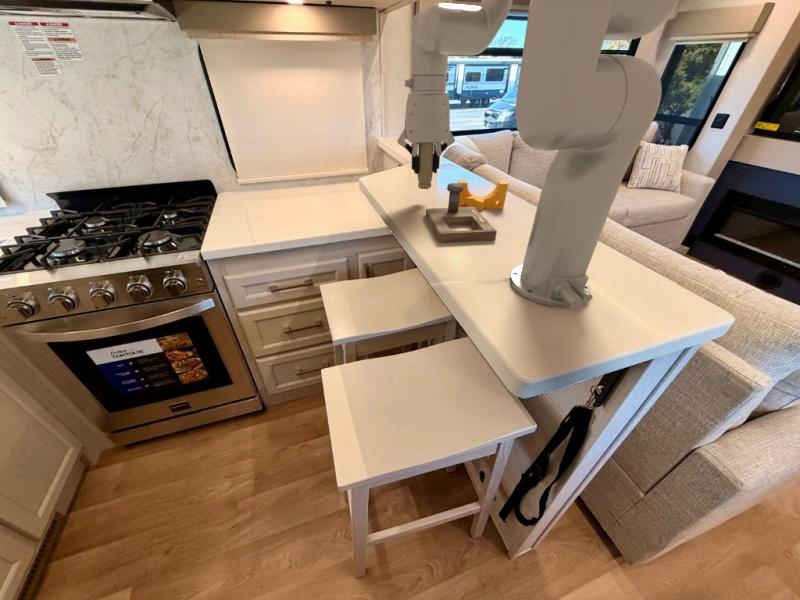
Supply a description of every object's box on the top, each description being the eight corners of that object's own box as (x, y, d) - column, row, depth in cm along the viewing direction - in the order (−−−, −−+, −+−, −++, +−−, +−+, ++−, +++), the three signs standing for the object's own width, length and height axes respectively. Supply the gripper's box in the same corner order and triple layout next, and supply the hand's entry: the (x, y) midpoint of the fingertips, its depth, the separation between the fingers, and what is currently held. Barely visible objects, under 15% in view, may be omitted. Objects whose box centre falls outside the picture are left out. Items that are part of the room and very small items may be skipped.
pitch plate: (495, 240, 69) (502, 202, 64) (439, 242, 67) (442, 204, 63) (473, 214, 81) (477, 181, 76) (425, 216, 80) (427, 183, 75)
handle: (409, 187, 85) (409, 122, 77) (430, 184, 88) (433, 121, 80) (418, 191, 82) (419, 124, 74) (440, 188, 84) (443, 122, 76)
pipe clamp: (457, 210, 84) (460, 184, 80) (456, 205, 88) (458, 180, 84) (504, 211, 84) (509, 185, 80) (501, 206, 87) (505, 181, 84)
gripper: (392, 86, 69) (393, 177, 79) (469, 85, 70) (461, 174, 80) (388, 86, 75) (390, 170, 85) (459, 85, 77) (453, 168, 87)
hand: (425, 171), depth 83 cm, fingers closed on handle, 4 cm apart
